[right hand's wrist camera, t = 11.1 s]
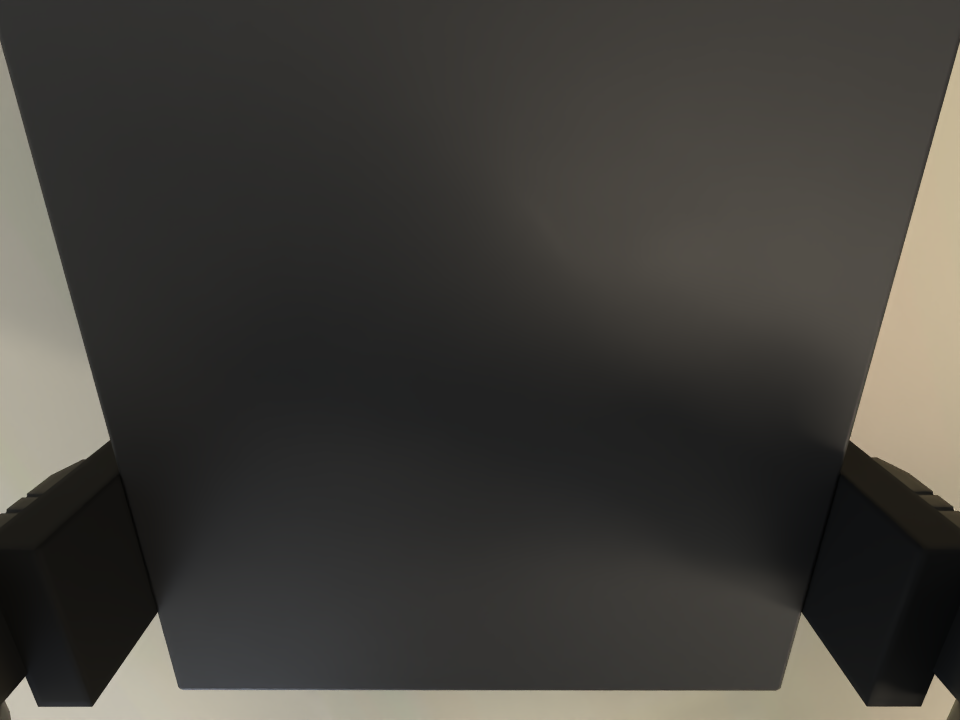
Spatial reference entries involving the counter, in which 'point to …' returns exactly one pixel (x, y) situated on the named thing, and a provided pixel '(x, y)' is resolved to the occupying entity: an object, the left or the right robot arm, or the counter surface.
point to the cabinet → (479, 317)
